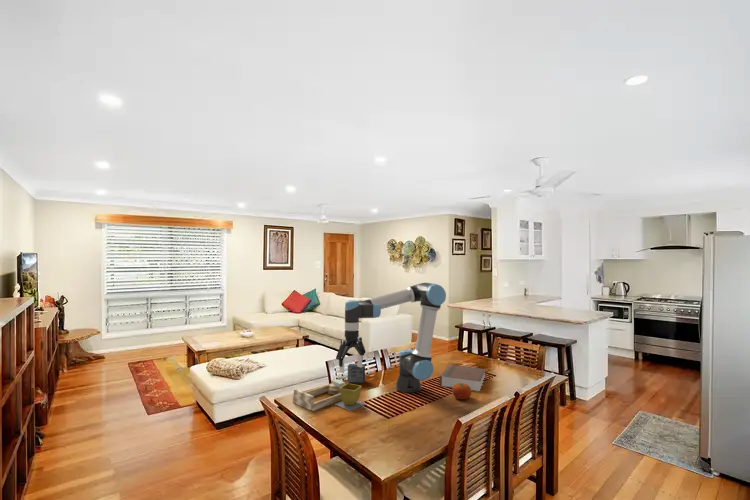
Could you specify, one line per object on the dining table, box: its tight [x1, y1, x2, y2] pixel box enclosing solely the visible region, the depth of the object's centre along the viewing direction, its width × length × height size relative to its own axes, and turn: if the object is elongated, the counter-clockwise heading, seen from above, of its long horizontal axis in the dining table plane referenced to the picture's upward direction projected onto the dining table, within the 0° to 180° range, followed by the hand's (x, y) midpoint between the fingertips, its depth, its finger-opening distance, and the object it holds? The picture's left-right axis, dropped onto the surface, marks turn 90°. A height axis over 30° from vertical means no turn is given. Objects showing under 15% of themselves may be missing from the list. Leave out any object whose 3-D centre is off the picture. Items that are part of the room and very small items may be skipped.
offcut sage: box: [331, 379, 346, 387], centre depth 217 cm, size 7×4×2 cm, turn 43°
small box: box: [346, 363, 366, 385], centre depth 239 cm, size 11×6×10 cm, turn 84°
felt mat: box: [333, 400, 367, 412], centre depth 202 cm, size 12×12×1 cm
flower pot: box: [340, 382, 362, 406], centre depth 202 cm, size 9×9×9 cm
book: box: [439, 364, 486, 392], centre depth 243 cm, size 24×28×6 cm
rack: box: [292, 382, 342, 412], centre depth 209 cm, size 16×30×7 cm, turn 139°
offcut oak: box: [329, 383, 341, 391], centre depth 217 cm, size 10×4×2 cm, turn 89°
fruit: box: [451, 383, 472, 400], centre depth 214 cm, size 11×10×8 cm
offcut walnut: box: [327, 389, 341, 396], centre depth 217 cm, size 12×4×3 cm, turn 72°
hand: (351, 369), depth 202 cm, fingers open, 13 cm apart
